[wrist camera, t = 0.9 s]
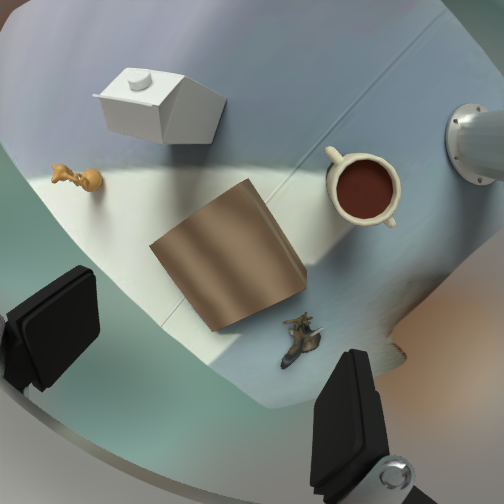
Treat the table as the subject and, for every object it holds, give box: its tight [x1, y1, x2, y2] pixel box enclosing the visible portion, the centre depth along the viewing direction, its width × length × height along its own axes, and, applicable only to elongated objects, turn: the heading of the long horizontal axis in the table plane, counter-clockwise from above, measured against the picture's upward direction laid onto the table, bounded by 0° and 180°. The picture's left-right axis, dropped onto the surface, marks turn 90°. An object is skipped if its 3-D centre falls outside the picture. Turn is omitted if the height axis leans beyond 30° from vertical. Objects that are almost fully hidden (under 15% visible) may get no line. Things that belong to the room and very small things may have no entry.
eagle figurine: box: [280, 312, 325, 369], centre depth 44 cm, size 8×7×9 cm
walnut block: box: [149, 178, 307, 332], centre depth 41 cm, size 16×16×6 cm
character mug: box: [324, 146, 401, 228], centre depth 31 cm, size 11×7×13 cm, turn 45°
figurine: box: [51, 164, 102, 192], centre depth 38 cm, size 8×6×12 cm
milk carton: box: [93, 68, 227, 144], centre depth 29 cm, size 7×7×19 cm
